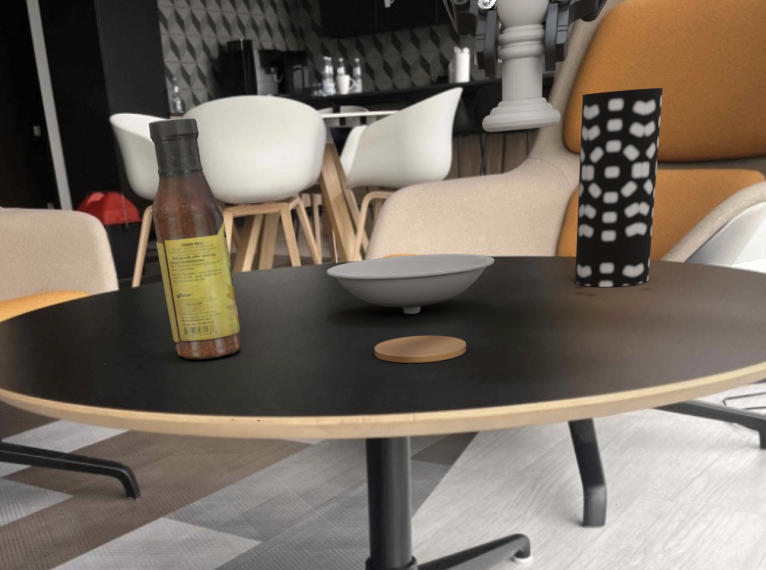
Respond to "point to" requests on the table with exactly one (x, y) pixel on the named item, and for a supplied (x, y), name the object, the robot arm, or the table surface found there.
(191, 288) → the sauce bottle
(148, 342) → the table surface
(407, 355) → the cork coaster
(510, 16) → the chess piece
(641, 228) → the spotted tube
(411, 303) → the dish
